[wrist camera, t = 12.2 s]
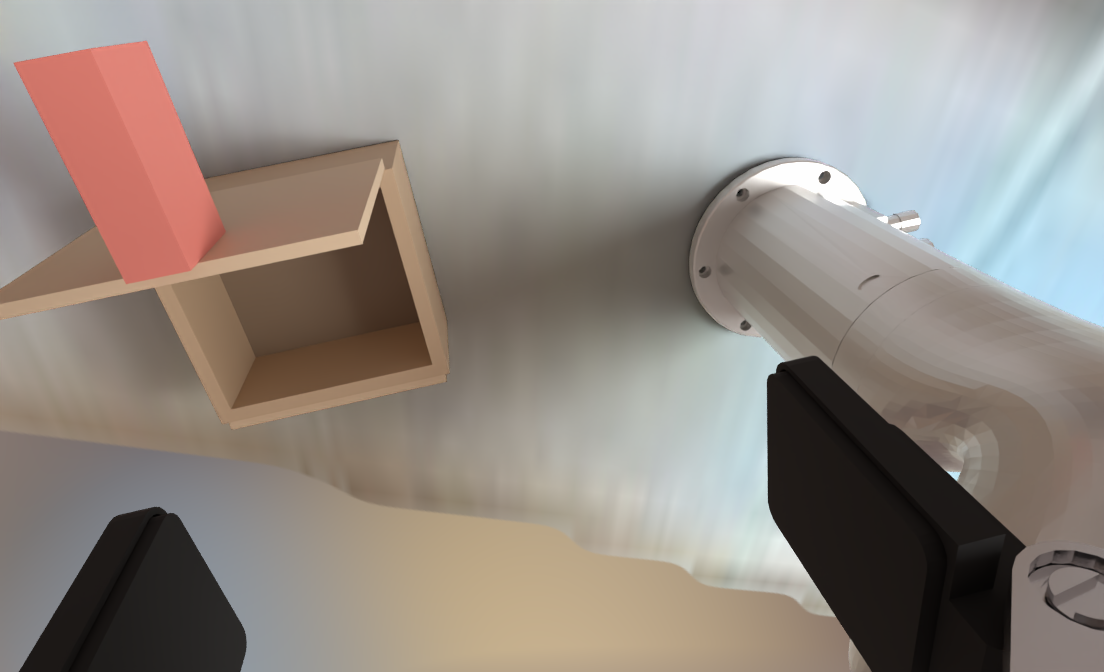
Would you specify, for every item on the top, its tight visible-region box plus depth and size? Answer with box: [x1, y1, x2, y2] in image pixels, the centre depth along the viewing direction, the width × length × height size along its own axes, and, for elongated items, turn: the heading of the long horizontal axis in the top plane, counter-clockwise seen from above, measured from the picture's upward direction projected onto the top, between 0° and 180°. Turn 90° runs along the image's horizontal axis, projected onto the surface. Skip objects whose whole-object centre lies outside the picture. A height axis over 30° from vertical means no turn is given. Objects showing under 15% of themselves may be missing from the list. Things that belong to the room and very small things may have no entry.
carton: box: [155, 140, 450, 430], centre depth 38 cm, size 13×13×7 cm
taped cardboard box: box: [0, 41, 385, 320], centre depth 25 cm, size 12×12×7 cm
